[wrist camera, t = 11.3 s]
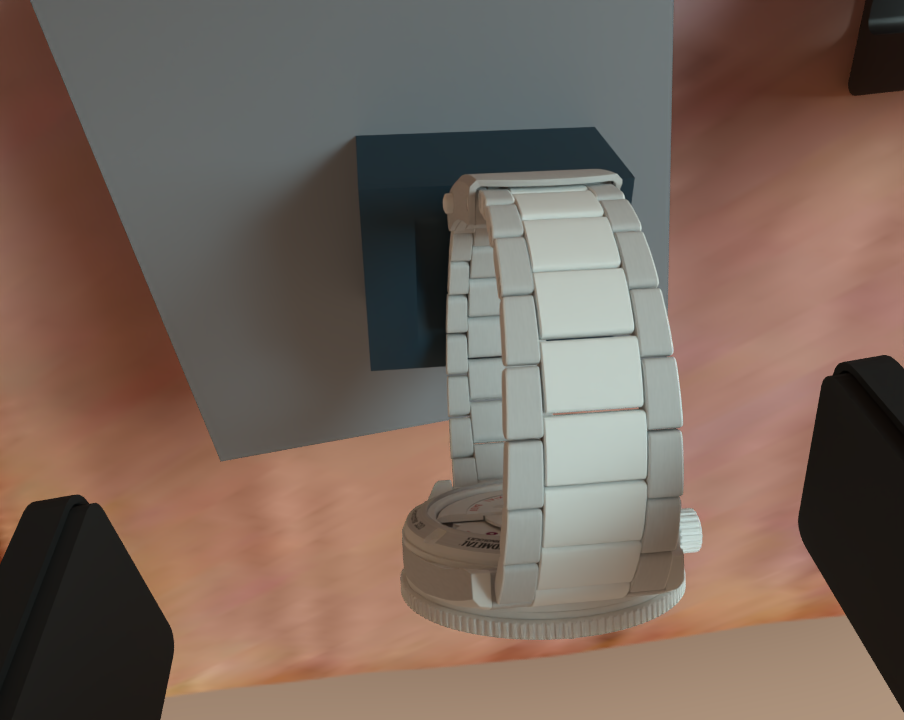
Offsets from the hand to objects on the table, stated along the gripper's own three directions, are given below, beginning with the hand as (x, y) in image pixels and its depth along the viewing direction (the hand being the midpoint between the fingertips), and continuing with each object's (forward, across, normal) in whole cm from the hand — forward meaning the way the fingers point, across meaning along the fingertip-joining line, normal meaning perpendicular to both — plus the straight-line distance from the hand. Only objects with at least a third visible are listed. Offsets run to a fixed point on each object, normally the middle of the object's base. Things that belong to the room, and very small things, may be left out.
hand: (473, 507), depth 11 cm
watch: (+11, -1, +1) cm, 11 cm away
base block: (+16, 0, +1) cm, 16 cm away
